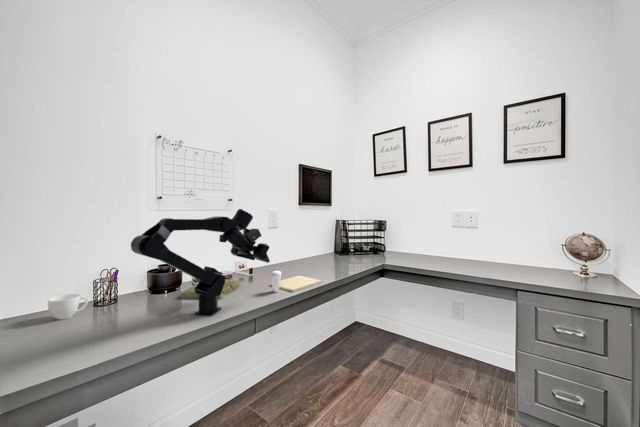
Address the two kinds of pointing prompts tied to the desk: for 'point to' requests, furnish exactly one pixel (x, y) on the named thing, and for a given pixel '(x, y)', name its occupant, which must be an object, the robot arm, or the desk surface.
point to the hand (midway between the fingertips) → (261, 260)
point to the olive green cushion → (227, 288)
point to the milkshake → (275, 281)
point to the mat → (297, 283)
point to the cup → (65, 305)
